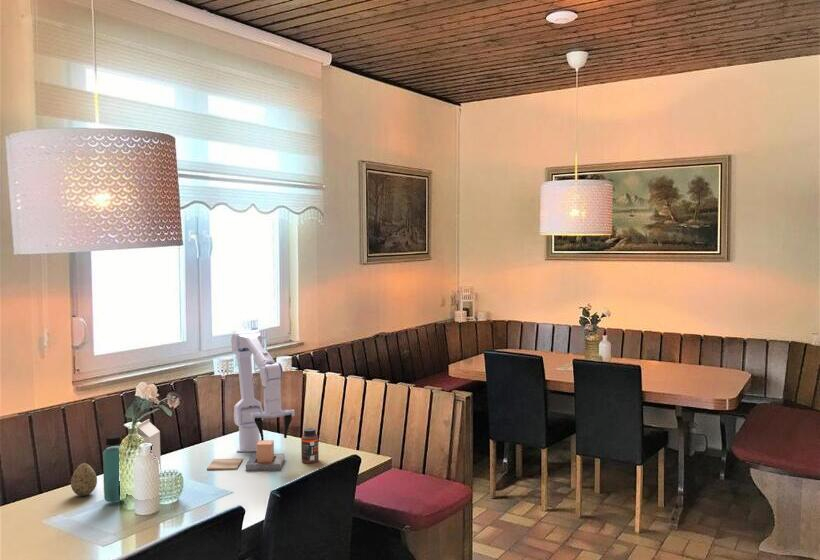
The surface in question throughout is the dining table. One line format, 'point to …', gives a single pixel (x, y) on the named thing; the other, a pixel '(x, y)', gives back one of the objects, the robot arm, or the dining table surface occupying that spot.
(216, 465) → the walnut pad
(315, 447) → the supplement bottle
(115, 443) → the beverage bottle
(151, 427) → the milk carton
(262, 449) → the terracotta block
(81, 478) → the decorative egg
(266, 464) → the square socket
